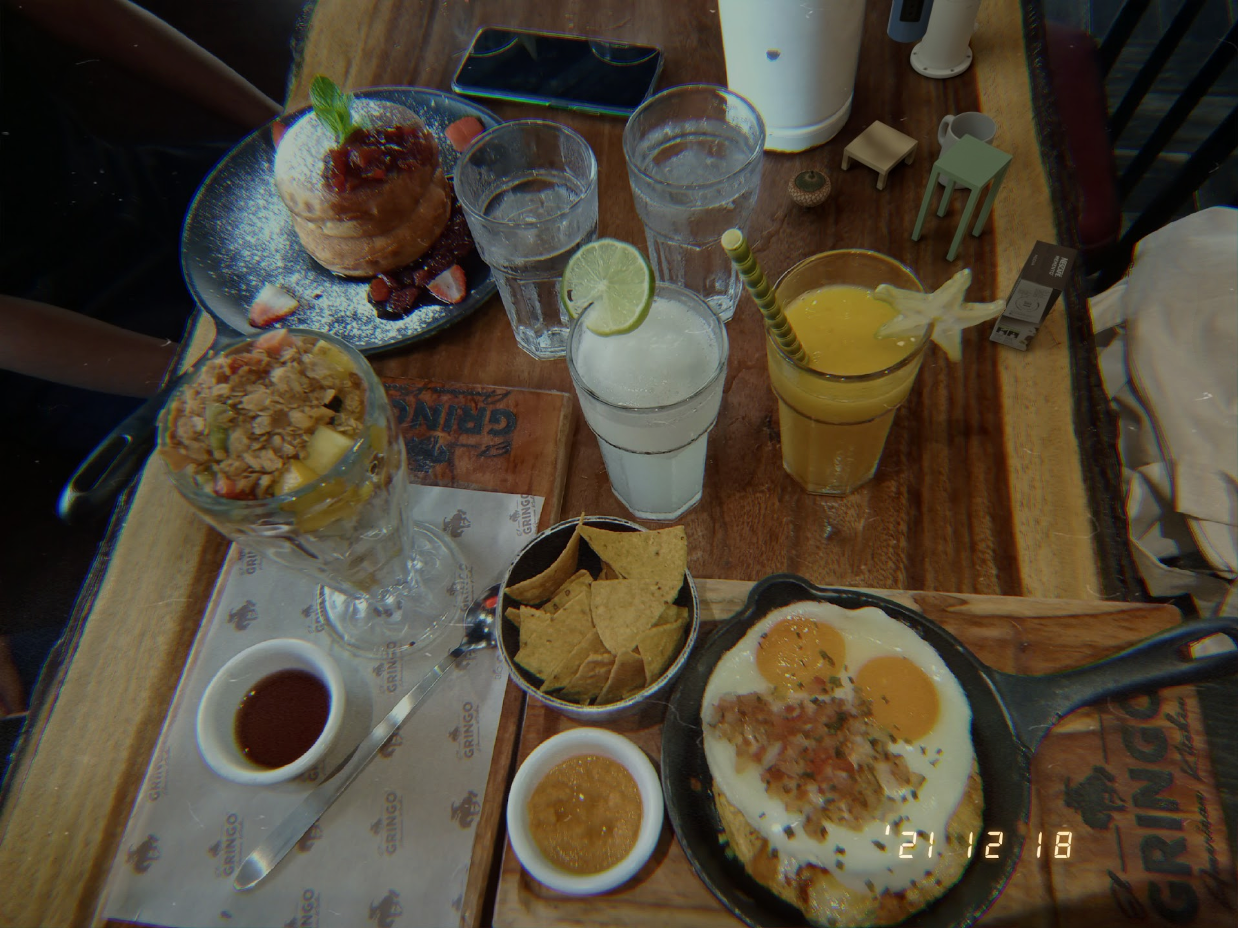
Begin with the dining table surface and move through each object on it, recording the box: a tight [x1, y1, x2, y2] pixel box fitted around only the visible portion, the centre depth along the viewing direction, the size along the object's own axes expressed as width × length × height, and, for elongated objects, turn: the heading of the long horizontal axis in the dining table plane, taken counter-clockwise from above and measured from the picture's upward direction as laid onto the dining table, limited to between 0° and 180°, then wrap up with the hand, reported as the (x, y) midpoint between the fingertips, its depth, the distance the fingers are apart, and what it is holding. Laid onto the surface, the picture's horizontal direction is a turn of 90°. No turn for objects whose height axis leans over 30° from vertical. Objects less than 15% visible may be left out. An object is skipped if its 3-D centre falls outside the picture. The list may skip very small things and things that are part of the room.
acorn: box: [787, 169, 832, 212], centre depth 142 cm, size 8×8×10 cm
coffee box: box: [989, 239, 1079, 352], centre depth 121 cm, size 9×6×16 cm
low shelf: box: [840, 120, 919, 191], centre depth 147 cm, size 10×10×5 cm
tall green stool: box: [911, 134, 1014, 262], centre depth 131 cm, size 9×9×18 cm
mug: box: [937, 111, 998, 190], centre depth 141 cm, size 12×8×11 cm
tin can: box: [886, 0, 934, 44], centre depth 119 cm, size 6×6×9 cm
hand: (912, 6), depth 120 cm, fingers closed on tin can, 6 cm apart
